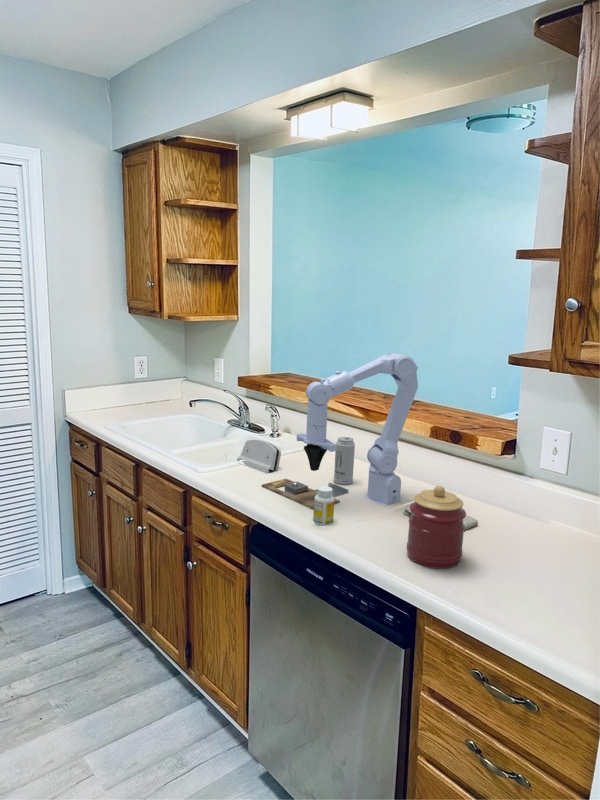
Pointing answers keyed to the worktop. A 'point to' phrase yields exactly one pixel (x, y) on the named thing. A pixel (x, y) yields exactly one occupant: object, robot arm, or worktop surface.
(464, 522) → the washcloth
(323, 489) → the supplement bottle
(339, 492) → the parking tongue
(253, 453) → the hinge
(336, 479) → the energy drink can
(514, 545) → the worktop surface
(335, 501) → the board
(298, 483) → the metal block with knob
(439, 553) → the canister
